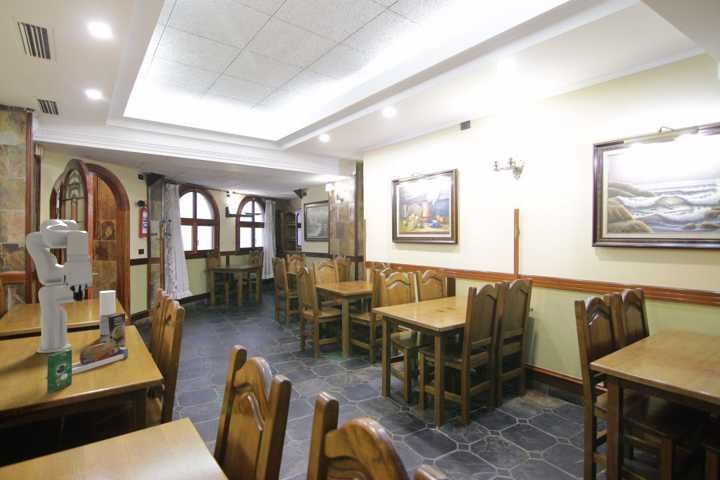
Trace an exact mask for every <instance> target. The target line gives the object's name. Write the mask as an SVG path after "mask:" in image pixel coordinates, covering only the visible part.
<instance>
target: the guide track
mask: <svg viewBox="0 0 720 480" xmlns="http://www.w3.org/2000/svg"><path fill="white" fill-rule="evenodd" d="M119 348H120V352H119V354H118V355H117V356H113V357H110V358H107V359H103V360H100V361H97V362H94V363H90V364H87V365H83V364H81V362H80V361H79V362H75V363H72V375H76V374H79V373H82V372H85V371H87V370H91V369H93V368H97V367H101V366H104V365H106V364H110V363H114V362H116V361H119V360H123V359H125V358H129V348H127V347H123V346H120V347H119Z"/></svg>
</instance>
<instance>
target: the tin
mask: <svg viewBox="0 0 720 480" xmlns="http://www.w3.org/2000/svg"><path fill="white" fill-rule="evenodd" d="M119 352H120V348H119V345H118V344H117V343H115V342H106V343H102V344H100V343H99V344H95V345H92V346H87V347H86V348H84V349H83V350H82V351H81V353H80V354H79V362H81V364H83V365H87V364H90V363H94V362H97V361H100V360H103V359H107V358H110V357H113V356H117V355H118V354H119Z"/></svg>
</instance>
